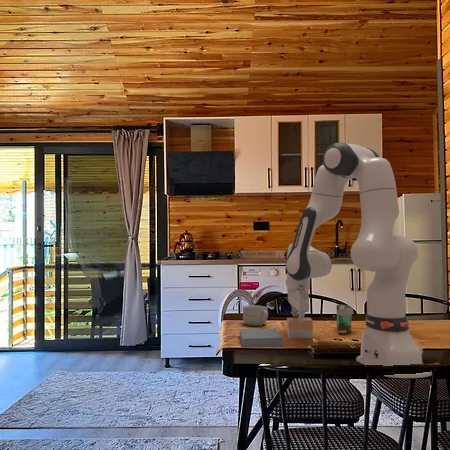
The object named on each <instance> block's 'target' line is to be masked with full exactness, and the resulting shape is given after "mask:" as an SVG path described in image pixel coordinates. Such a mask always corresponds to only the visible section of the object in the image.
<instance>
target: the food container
mask: <svg viewBox="0 0 450 450" xmlns="http://www.w3.org/2000/svg"><path fill="white" fill-rule="evenodd" d="M353 314H354V308H353V307H352V306H351V305H347V304H336V330H337V333H338V335H339V336H341V335H343V336H344V335H349V334H352V321H353V320H352V318H353V317H352V316H353Z"/></svg>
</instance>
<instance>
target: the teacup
mask: <svg viewBox="0 0 450 450" xmlns="http://www.w3.org/2000/svg"><path fill="white" fill-rule="evenodd" d="M268 309H269V307H267V306H264V305H253V304H252V305H250V304H249V305H244V306H243V305H242V321H243V322H244V323H245V324H246V325H248V326H250V327H261V326H264V324H265V323H267V320H268V317H269V312H268Z"/></svg>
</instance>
